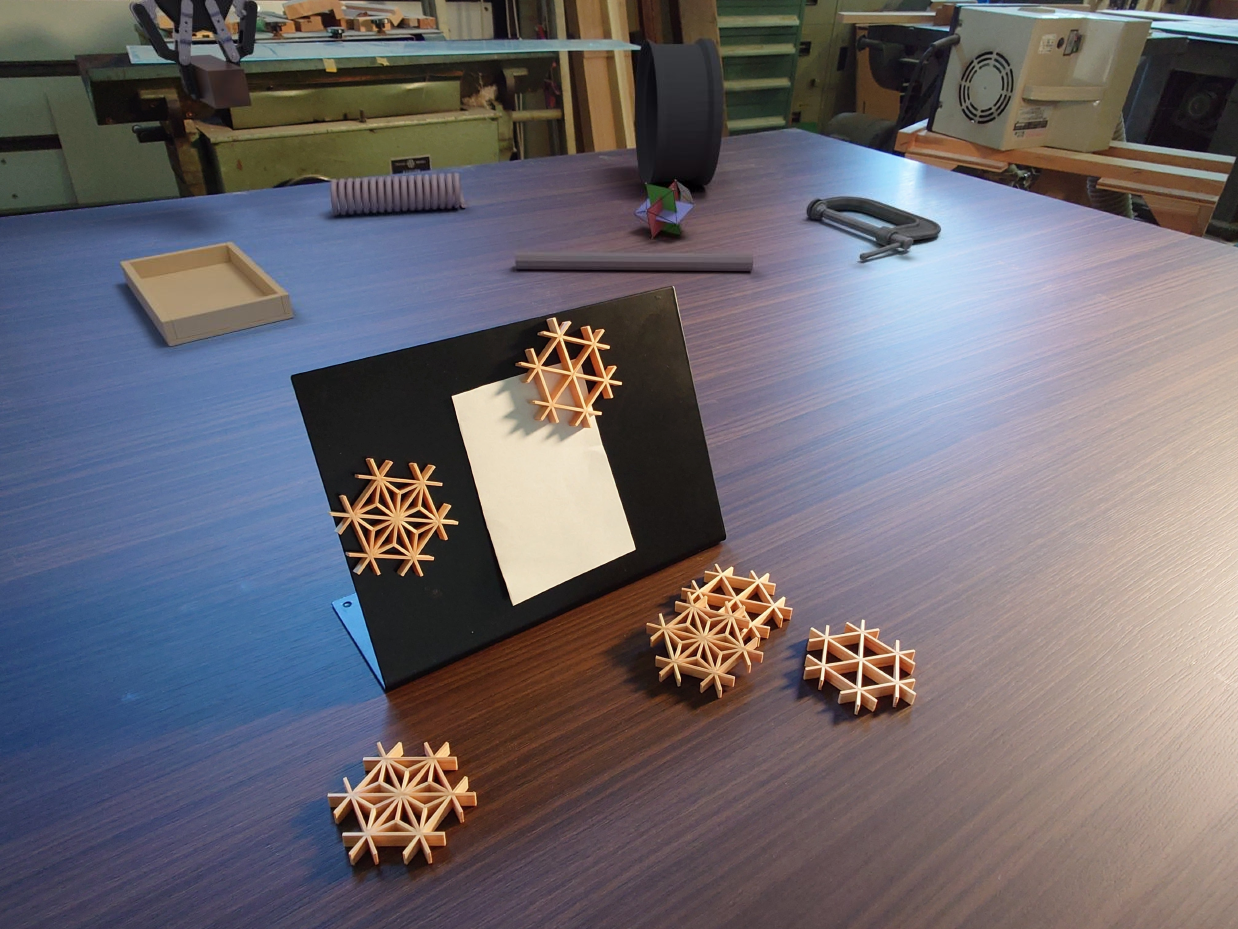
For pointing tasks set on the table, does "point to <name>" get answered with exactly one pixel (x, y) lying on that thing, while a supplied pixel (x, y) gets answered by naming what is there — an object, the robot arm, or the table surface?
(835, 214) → the c clamp
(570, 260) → the metal rod
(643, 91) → the wheel rim
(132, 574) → the table surface
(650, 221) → the geometric puzzle
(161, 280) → the tray
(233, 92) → the block
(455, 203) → the coil
